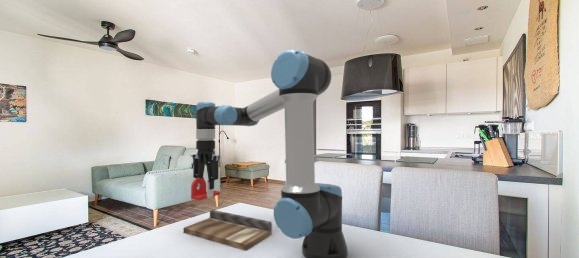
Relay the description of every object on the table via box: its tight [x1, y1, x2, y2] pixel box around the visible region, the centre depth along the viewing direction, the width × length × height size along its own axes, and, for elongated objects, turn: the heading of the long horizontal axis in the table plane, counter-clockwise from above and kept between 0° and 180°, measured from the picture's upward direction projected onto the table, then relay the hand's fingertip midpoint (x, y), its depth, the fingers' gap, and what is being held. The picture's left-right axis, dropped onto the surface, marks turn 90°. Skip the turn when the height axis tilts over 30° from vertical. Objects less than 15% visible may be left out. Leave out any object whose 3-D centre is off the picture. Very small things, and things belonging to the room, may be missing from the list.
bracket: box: [190, 177, 221, 201], centre depth 108 cm, size 12×4×8 cm, turn 151°
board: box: [183, 209, 273, 251], centre depth 104 cm, size 32×16×5 cm, turn 61°
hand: (205, 196), depth 107 cm, fingers closed on bracket, 4 cm apart
